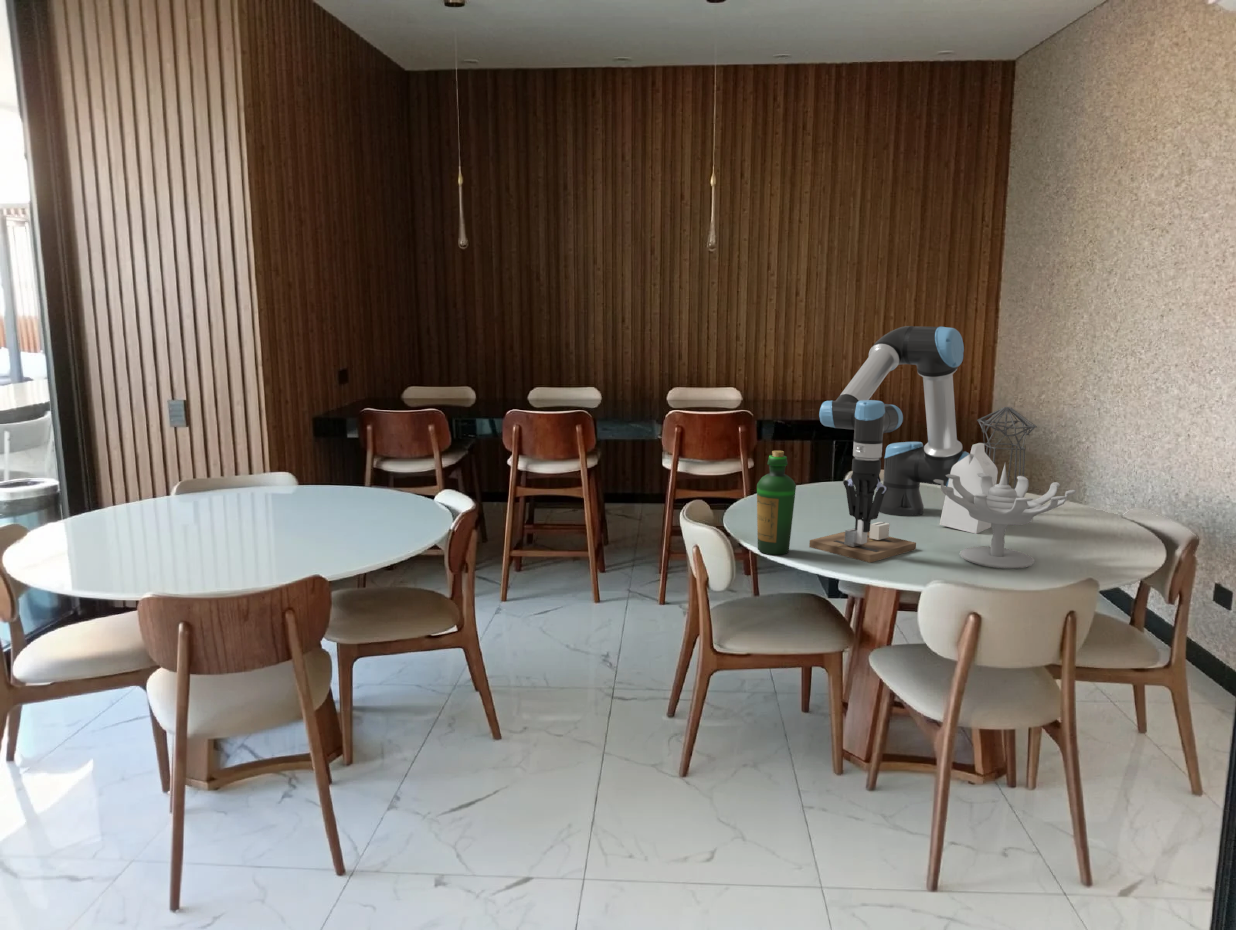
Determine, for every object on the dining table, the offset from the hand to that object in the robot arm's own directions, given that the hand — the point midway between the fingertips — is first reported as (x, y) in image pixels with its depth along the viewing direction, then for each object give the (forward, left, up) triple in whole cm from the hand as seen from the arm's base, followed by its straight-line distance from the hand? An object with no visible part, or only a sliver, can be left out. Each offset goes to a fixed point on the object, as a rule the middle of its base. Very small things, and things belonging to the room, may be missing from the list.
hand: (861, 542), depth 250 cm
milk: (+1, +54, -3) cm, 54 cm away
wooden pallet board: (-4, +6, -3) cm, 8 cm away
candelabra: (+26, +24, -4) cm, 36 cm away
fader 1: (-2, 0, -1) cm, 2 cm away
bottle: (-17, -17, -4) cm, 24 cm away
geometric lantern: (-6, +87, -4) cm, 87 cm away
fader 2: (-2, +12, -1) cm, 12 cm away
